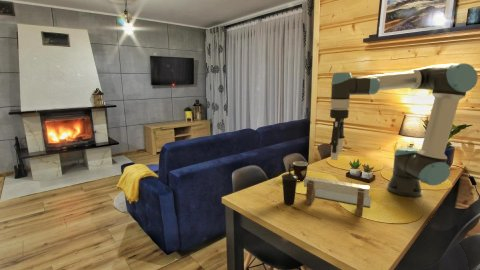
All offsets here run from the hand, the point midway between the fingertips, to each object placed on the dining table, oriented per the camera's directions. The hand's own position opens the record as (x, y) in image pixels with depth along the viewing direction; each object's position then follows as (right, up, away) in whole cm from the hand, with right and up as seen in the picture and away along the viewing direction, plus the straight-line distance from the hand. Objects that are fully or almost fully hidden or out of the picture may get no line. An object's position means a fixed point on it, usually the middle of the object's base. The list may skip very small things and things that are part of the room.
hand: (336, 155), depth 118 cm
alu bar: (0, -16, +3) cm, 17 cm away
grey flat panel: (+6, -22, +15) cm, 27 cm away
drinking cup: (-20, -24, +9) cm, 32 cm away
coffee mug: (-9, -18, +39) cm, 44 cm away
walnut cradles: (+1, -24, +5) cm, 25 cm away
